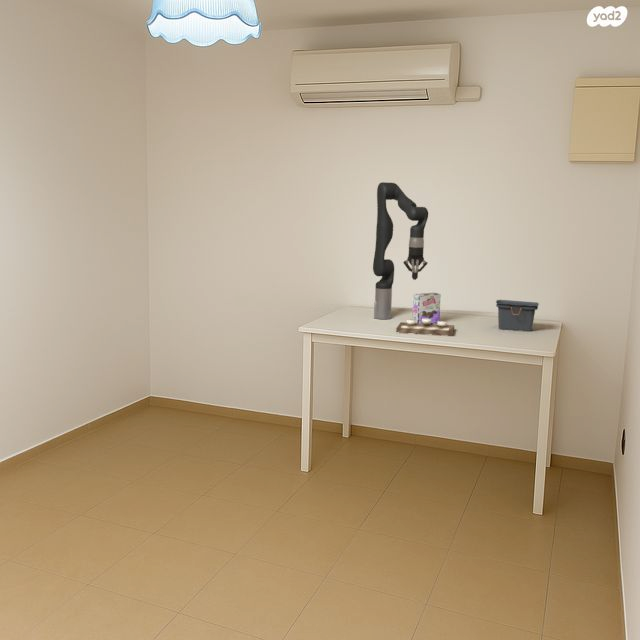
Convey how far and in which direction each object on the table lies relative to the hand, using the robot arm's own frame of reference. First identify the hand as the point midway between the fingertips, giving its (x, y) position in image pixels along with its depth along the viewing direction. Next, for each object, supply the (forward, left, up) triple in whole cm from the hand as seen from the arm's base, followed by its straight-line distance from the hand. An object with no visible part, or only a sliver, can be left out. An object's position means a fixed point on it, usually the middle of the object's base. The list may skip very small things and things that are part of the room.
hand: (414, 279), depth 349 cm
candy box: (+5, +15, -26) cm, 31 cm away
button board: (+7, -8, -26) cm, 28 cm away
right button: (+15, -5, -23) cm, 28 cm away
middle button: (+7, -5, -22) cm, 23 cm away
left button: (-1, -5, -23) cm, 23 cm away
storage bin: (+52, +11, -26) cm, 60 cm away
